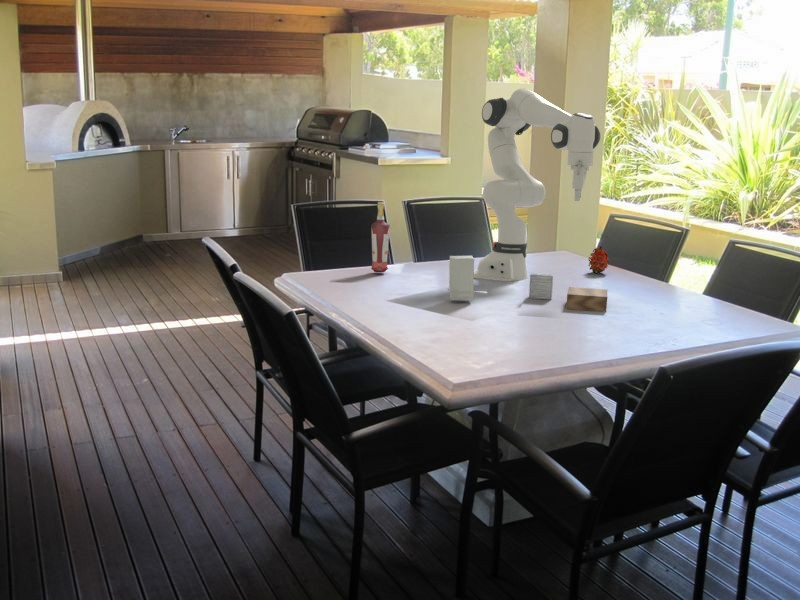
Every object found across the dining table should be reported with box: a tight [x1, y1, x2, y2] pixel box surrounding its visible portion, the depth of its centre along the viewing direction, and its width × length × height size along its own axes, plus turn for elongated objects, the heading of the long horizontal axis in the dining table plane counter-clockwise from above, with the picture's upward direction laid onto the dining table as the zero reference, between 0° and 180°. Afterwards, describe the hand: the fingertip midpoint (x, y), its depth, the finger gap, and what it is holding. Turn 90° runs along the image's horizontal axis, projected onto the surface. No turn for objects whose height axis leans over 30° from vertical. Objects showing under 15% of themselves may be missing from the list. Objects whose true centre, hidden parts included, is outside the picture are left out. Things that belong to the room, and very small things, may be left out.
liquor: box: [370, 201, 390, 273], centre depth 340 cm, size 7×7×28 cm
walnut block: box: [565, 286, 608, 312], centre depth 286 cm, size 13×13×5 cm
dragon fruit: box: [588, 245, 610, 274], centre depth 347 cm, size 8×8×12 cm
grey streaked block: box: [528, 272, 554, 301], centre depth 297 cm, size 8×4×9 cm, turn 77°
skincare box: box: [448, 255, 475, 301], centre depth 293 cm, size 8×6×15 cm
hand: (577, 199), depth 301 cm, fingers open, 8 cm apart
